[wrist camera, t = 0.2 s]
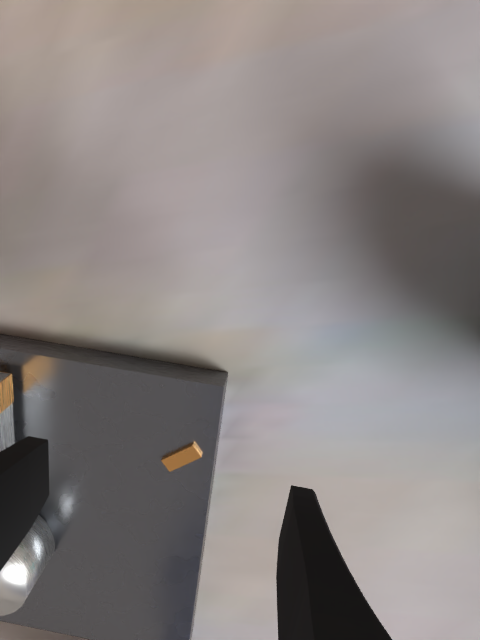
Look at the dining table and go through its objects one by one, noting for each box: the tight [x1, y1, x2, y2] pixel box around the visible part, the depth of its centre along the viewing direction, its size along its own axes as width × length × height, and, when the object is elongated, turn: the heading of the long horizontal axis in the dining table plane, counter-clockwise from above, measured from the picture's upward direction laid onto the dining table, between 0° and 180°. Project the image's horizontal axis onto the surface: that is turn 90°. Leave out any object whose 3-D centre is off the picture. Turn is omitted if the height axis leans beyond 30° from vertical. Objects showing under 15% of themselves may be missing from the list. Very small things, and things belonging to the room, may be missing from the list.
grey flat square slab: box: [0, 334, 228, 640], centre depth 25 cm, size 20×20×3 cm
